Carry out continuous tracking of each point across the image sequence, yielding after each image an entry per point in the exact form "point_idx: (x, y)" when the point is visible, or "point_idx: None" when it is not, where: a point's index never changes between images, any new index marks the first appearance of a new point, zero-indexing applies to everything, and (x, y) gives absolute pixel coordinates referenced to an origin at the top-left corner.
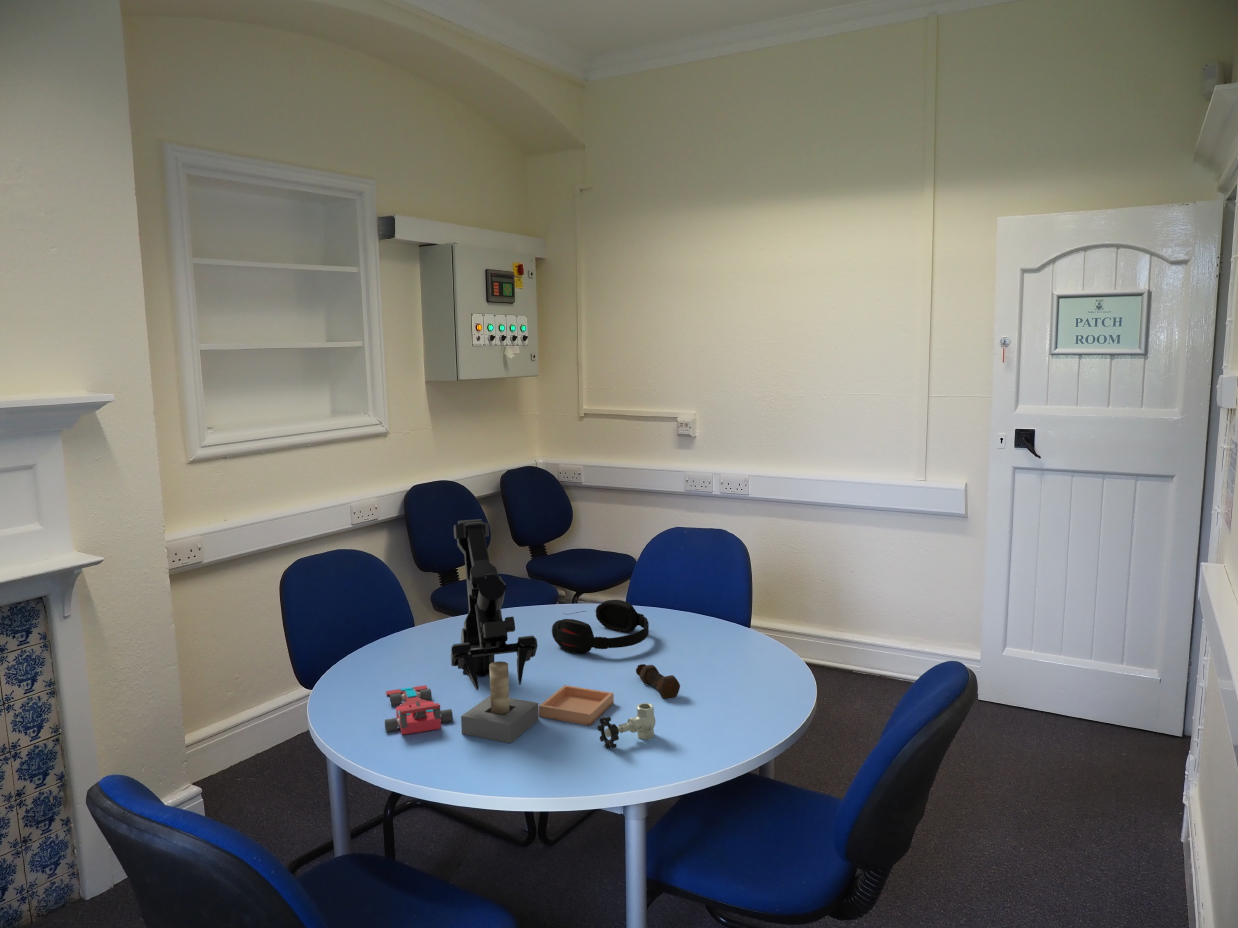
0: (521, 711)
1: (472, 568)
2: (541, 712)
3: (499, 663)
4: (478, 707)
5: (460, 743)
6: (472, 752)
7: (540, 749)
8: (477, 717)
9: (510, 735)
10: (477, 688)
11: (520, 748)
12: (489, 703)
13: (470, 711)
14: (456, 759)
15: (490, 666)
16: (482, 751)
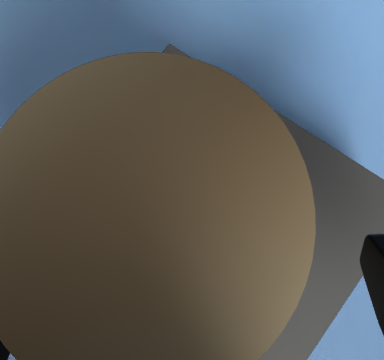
0: None
1: None
2: None
3: (112, 279)
4: (316, 288)
5: (370, 122)
6: (322, 43)
7: (88, 21)
8: (321, 156)
9: None
10: (374, 234)
11: (151, 40)
12: None
13: (361, 244)
14: (379, 4)
15: (292, 171)
16: (285, 44)
